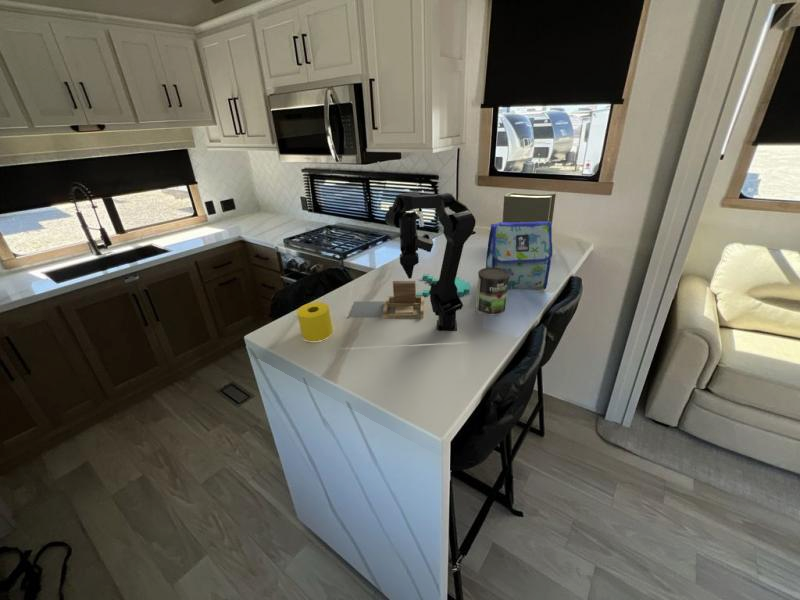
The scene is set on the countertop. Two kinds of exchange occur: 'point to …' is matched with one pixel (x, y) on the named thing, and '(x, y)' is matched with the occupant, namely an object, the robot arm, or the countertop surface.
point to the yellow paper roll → (315, 321)
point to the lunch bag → (521, 253)
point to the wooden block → (404, 291)
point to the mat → (366, 309)
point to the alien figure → (460, 284)
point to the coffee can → (492, 291)
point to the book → (528, 207)
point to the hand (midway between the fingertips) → (409, 273)
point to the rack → (391, 304)
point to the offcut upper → (404, 310)
